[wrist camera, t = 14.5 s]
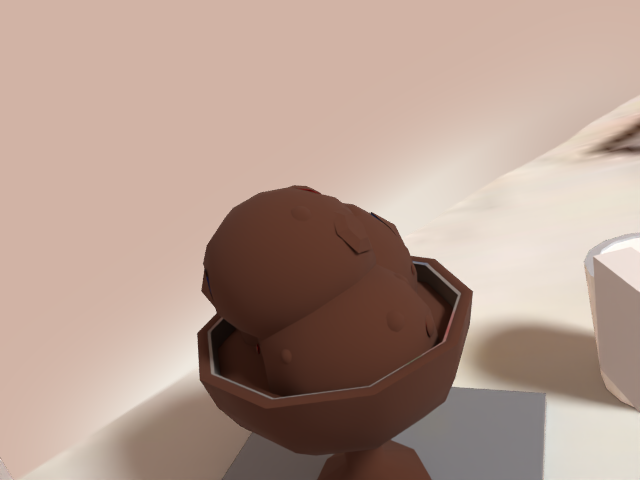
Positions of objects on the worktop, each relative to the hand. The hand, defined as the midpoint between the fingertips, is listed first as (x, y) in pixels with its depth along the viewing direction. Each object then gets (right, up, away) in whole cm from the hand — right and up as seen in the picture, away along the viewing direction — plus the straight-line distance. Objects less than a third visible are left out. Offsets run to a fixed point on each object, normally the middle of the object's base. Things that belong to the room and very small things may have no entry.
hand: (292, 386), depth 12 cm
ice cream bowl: (+3, -9, +14) cm, 17 cm away
